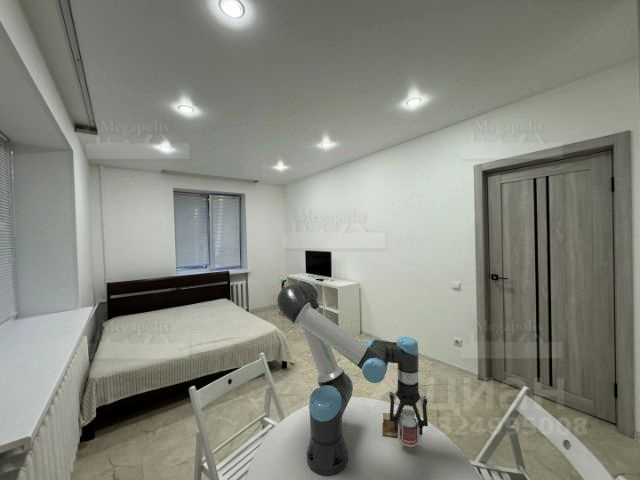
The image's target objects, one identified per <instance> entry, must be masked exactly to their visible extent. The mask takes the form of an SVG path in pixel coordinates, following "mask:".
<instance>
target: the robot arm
mask: <svg viewBox="0 0 640 480" xmlns="http://www.w3.org/2000/svg"><path fill="white" fill-rule="evenodd" d="M318 297H319V292H318V289H317V286H316V285H315V284H314V283H312V282H311V281H308V280H300V281H296V282H294V283H292V284H289V285H286V286H284V287H282V289H281V290H280V291H279V293H278V294H277V300H276V301H277V302H276V303H277V306H278V309H279V310H280V312H281V314H282V315H283V316H284V317H285V318H286V319H288V321H290V322H291V323H293V324H294V325H295V326H298V325H300V326H301V329H302V331H303V333H304V334H303V335H304V336H305V340H306V343H307V345H308V348H309V351H310V353H311V357H312V358H313V361H314V364H315V367H316V370H317V372H318V376H317V378H316V379H317V384H318V385H319V387H317V388H315V389H314V390H313V391H312V392H311V394H310V396H309V405H308V408H309V409H308V410H309V421H310V422H309V424H310V438H309V442H308V446H307V450H306V462H307V465H308V467H309V468H310V469H311V470H312V471H313V472H314V473H316V474H319V475H321V476H333V475H337V474H338V473H340V472H342V471H343V470H344V468H346V466H347V464H348V462H349V451H348V446H347V444H346V442H345V439H344V436H343V416H344V414H345V410H346V408H347V407H348V405H349V402H350V400H351V399H352V395H353V391H354V390H353V389H354V386H353V381H352V378H351V377H350V376H349V375H348V373H346V372H345V371H344V369H343V367H341V366H339V365H338V362H337V360H336V357H335V355H334V352H333V350H334V351H336V352H338V353H339V354H340V355H342V356H343V357H344V358H346V359H347V360H349V362H350V363H353V365H355V366H356V367H358V368H359V369H360V370H361V371H362V375H363V378H365V380H366V381H368V382H369V383H372V384H378V383H380V382H382V381H383V380H384V378H385V377H386V374H387V372H388V365H389V363H391V364H396V365H397V369H396V370H397V372H396V373H397V390H396V392H393V391H390V392H389V400H390V405H389V406H390V407H389V413H390V421H393V422H394V423H395V431H398V438H397V442H400V443H401V441H400V420H399V418H400V415H402V410H403V409H405V408H404V407H405V406H409V407H412V410H413V412H414V413H415V419H416V421H417V444H416V445H418V446H420V444H421V443H420V436H423V428H424V427H429V424H428V411H427V406H428V405H427V404H428V398H427V396H425V395H424V396H422V395H420V392H419V345H418V344H419V343H418V341H417V340H416V339H415V338H413V337H411V336H399V337H398V338H397V341H389V340H380V339H376V338H375V339H372V338H371V339H367V340H366V341H365V343H364V342H362V341H360V340H359V339H358V338H356V337H355V336H353V335H352V334H350V333H349V332H347V331H346V330H344V329H343V328H342V327H341V326H339V325H338V324H336V323H334V322H333V321H332V320H330V319H329V318H327V317H326V316H325V315H323V314H322V313H321V312H319V309H320V305H319V302H318V299H319V298H318ZM332 349H333V350H332ZM397 398H398V400H399V403H398V406H397V409H396V412H395V411H394V410H395V400H396V399H397ZM419 401H420V403H421V407H422V417H423V418H421V416H420V412H419V410H418V409H419V408H418V406H417V403H418V402H419ZM394 412H395V413H394ZM393 414H395V416H393Z"/></svg>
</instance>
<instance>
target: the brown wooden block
mask: <svg viewBox="0 0 640 480" xmlns="http://www.w3.org/2000/svg"><path fill="white" fill-rule="evenodd" d="M395 414H396V413H393V416H395ZM401 415H402V414H401ZM401 415H400V416H401ZM382 420H383V422H382V425H381V426H382V427H381V429H382V431H381V432H382V435H381V436H382V437H385V438H386V437H387V438H394V439H398V431H395V423H394V422H393V421H390V412H389V413H387V412H382ZM399 420H400V418H399Z"/></svg>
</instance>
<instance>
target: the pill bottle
mask: <svg viewBox="0 0 640 480" xmlns="http://www.w3.org/2000/svg"><path fill="white" fill-rule="evenodd" d="M417 423H418V421H417V418H416V415H415V412H414V410H413V409H410V408H403V410H402V413H401V416H400V443H402V445H403V446H405V447H408V448H413V447H416V445H417Z"/></svg>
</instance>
